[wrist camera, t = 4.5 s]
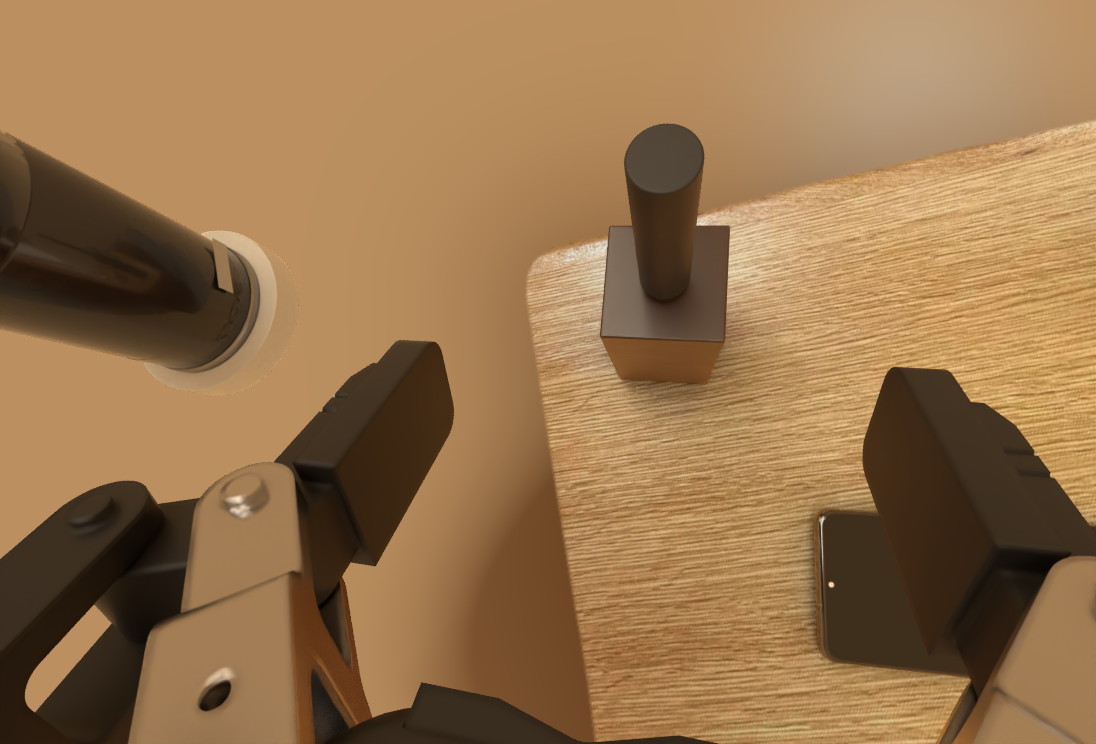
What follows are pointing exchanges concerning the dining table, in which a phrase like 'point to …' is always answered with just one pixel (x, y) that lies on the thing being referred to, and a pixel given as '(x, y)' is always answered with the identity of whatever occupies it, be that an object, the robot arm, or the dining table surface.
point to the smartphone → (866, 598)
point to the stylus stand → (666, 312)
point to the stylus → (664, 205)
